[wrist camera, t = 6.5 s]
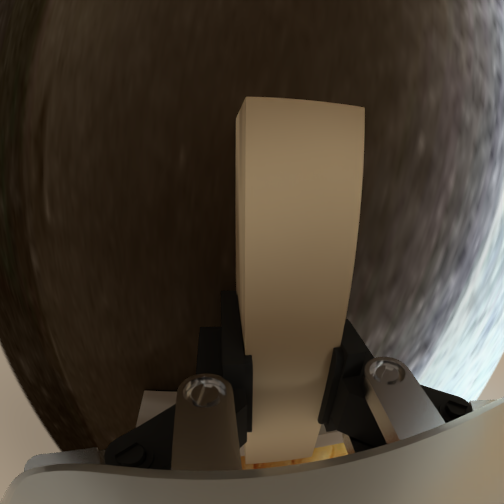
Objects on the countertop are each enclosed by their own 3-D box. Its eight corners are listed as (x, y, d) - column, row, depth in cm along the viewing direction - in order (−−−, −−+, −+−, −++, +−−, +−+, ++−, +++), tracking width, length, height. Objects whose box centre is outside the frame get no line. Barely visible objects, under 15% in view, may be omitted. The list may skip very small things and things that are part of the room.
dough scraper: (105, 127, 8) (41, 119, 5) (416, 136, 9) (492, 140, 6) (148, 404, 12) (135, 472, 9) (370, 388, 13) (401, 445, 10)
